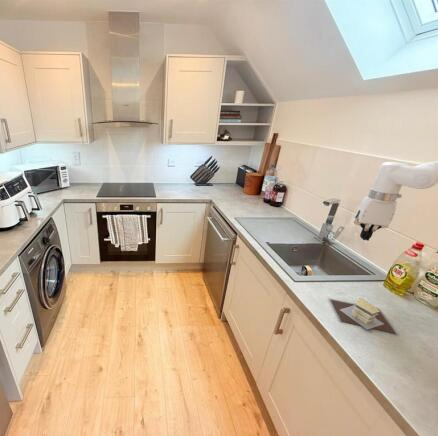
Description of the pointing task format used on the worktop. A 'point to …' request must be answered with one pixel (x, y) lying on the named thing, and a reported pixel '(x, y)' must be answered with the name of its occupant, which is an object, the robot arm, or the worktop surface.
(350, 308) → the stacked layers on plate
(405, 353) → the worktop surface
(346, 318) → the spill
